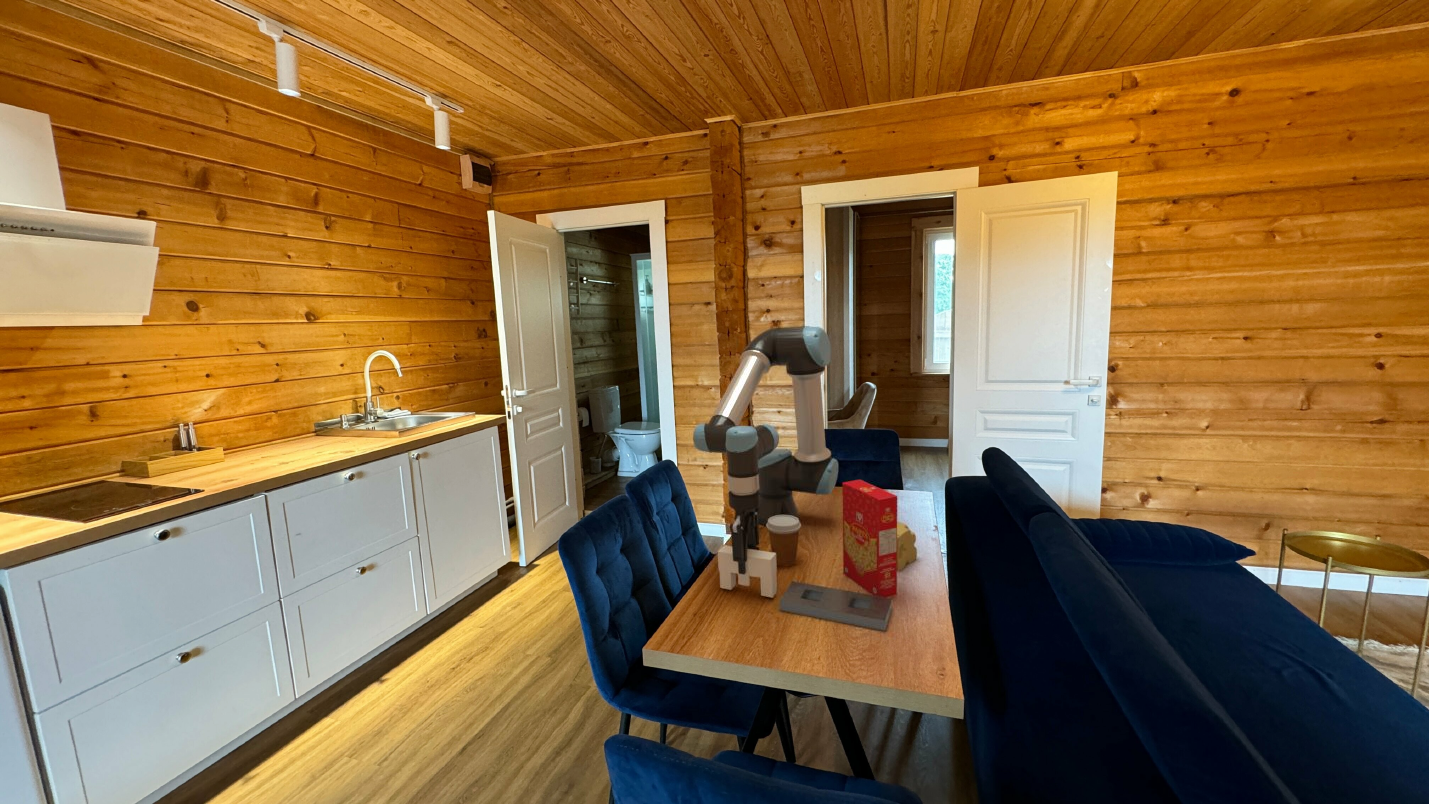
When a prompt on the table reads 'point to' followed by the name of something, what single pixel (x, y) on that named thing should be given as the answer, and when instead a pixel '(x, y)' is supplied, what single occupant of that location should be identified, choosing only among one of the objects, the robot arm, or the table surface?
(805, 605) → the grey flat rectangular block
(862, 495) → the food packaging
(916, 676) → the table surface
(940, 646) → the table surface
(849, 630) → the table surface
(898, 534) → the cheese
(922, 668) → the table surface
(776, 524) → the disposable coffee cup
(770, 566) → the white block
